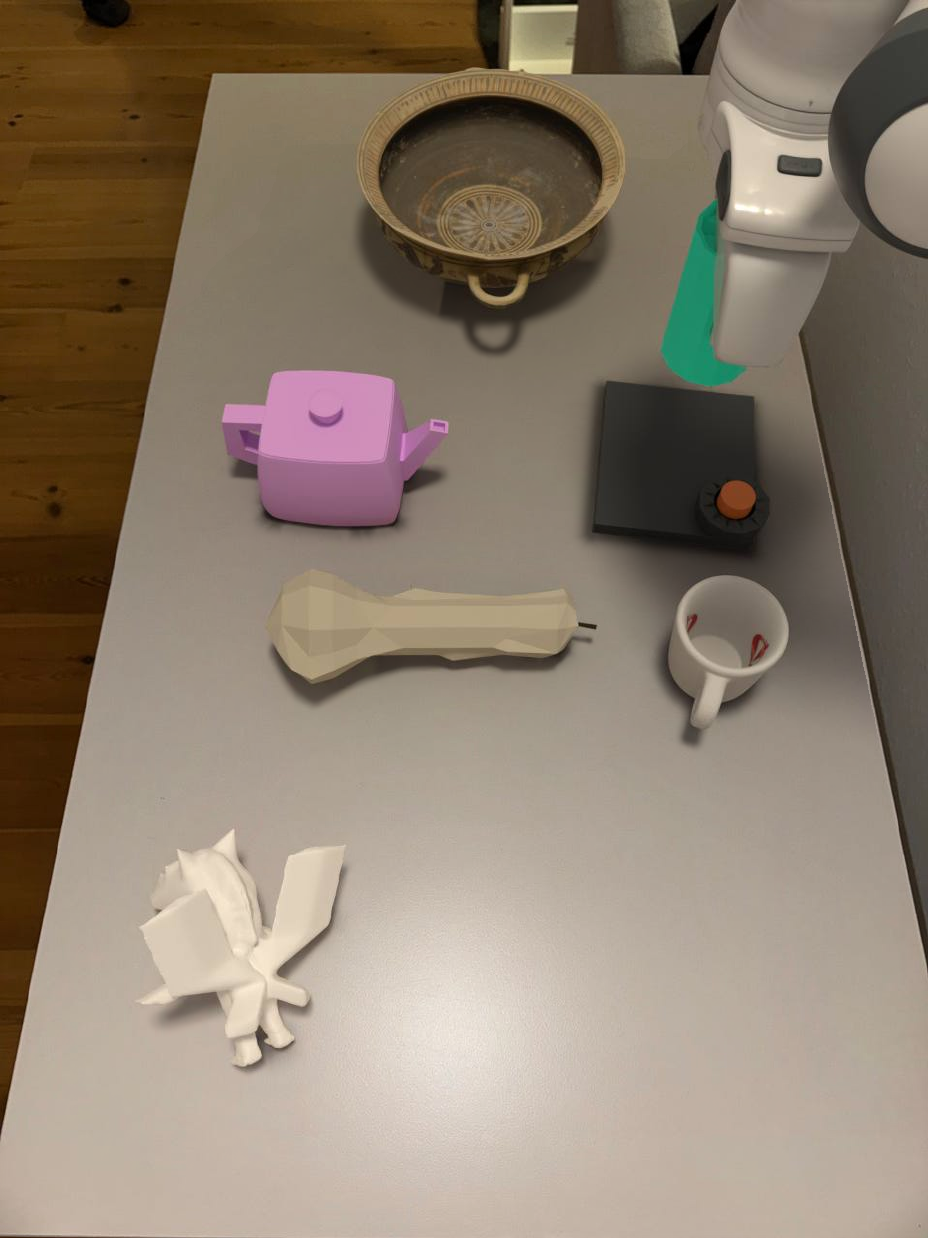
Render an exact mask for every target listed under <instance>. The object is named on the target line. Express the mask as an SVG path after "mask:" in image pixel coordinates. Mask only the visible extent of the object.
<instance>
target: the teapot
mask: <svg viewBox="0 0 928 1238" xmlns="http://www.w3.org/2000/svg"><path fill="white" fill-rule="evenodd" d="M449 424H450V423H449V421H446V420H441V419H435V418H430V419H429V421H427V422H425V423H422V424H421V425H418V426H417V427H415V428H413V429H412V430H410V431H408V425H407V419H406V413H405V408H404V405H403V401H402V398H401V395H400V393H399V390H398V387H397V385H396V383H395V381H394V380H393V379H392V378H389V377H387V376H381V375H375V374H369V373H360V372H351V371H350V372H349V371H339V370H337V371H336V370H309V369H308V370H306V369H305V370H304V369H303V370H284V371H276V372H274V373H273V374H272V375H271V379H270V382H269V387H268V391H267V394H266V401H265V405H262V404H261V405H259V404H235V403H233V404H232V403H225V406H224V410H223V414H222V419H221V426H222V427H221V428H222V433H223V437H224V442H225V443H224V444H225V448H226V453H227V456H230V457H233V458H236V459H239V460H242V461H243V462H247V463H250V464H253V465H254V466H257V480H258V490H259V497H260V500H261V503H262V506H263V508H264V510H266V511H267V513H268V514H270V515H271V516H272V517H274V518H276V519H280V520H283V521H284V520H285V521H289V522H295V523H301V524H310V525H316V526H317V525H318V526H328V527H329V526H330V527H375V526H386V525H390V524H393V523H394V522H395V521H396V519H397V516H398V514H399V511H400V507H401V503H402V496H403V491H404V485H405V481H409V479H410V478H411V477H412V476H413V475H414V474H415V473H416V471H418V470H419V468H420V467H421V466H422V465H423V464H424V462H425V461H426V460H427V459H428V458H429V457H430V456H431V455H432V453H433V452H434V451H435V450H436V449H437V448H438V447H439V445H441V443H442V442H443V441H444V440H445V439H446V438H447V437H448V435H449V426H450V425H449ZM253 432H254V433H253ZM255 432H257V433H260V434H257V433H255Z"/></svg>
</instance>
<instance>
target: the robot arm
mask: <svg viewBox="0 0 928 1238" xmlns="http://www.w3.org/2000/svg"><path fill="white" fill-rule="evenodd" d="M697 119H698V120H697V131H698V136H699V139H700V142H701V144H702V147H703V148H704V150H705V151H706V153H707V156H708V157H707V158H708V159H707V160H708V163H709V166H710V167H709V168H710V170H711V173H712V178H713V181H714V200H715V199H716V198H717V207H716V212H715V252H716V259H715V262H714V321H713V324H712V326H711V329H710V345H711V346H713V355H714V358H715V359H716V360H717V361H719V362H722V363H727V364H732V365H739V366H746V367H749V368H770V367H771V368H772V367H774V366H776V365H779V364H780V363H782V361H783V360H784V359H785V358H786V356H787V355H788V353H789V351H790V350H791V349H792V346H793V344H794V343H795V340H796V339H797V337H798V335H799V333H800V332H801V331H802V329H803V326H804V325H805V322H806V320H807V318H808V317H809V315H810V313H811V310H812V308H813V307H814V305H815V302H816V300H817V298H818V296H819V294H820V292H821V289H822V287H823V285H824V282H825V280H826V276H827V274H828V271H829V267H830V262H831V259H832V253H845V252H847V251H848V250H849V248H850V247H851V245H852V243H853V241H854V239H855V237H856V235H857V232H858V230H859V227H860V223H862V225H863V226H864V227H865V228H866V229H868V231H870V232H871V233H872V234H873V235H874V236H876V237H877V238H878V239H880V240H881V241H883V242H884V243H886V244H887V245H889V246H891V247H893V248H895V249H897V250H898V251H901V252H903V253H905V254H908V255H911V256H914V257H917V258H921V259H925V260H928V0H735V2H734V4H733V5H732V7H731V9H730V10H729V12H728V14H727V15H726V18H725V20H724V22H723V25H722V27H721V29H720V33H719V37H718V41H717V45H716V49H715V53H714V57H713V60H712V64H711V68H710V72H709V76H708V79H707V84H706V88H705V91H704V95H703V99H702V103H701V107H700V110H699V115H698V118H697Z"/></svg>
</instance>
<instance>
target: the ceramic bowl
mask: <svg viewBox="0 0 928 1238" xmlns="http://www.w3.org/2000/svg"><path fill="white" fill-rule="evenodd" d="M626 158H627V157H626V150H625V146H624V142H623V139H622V137H621V135H620V132H619V131H618V128H617V127H616V125H615V123H613V121H612V119H611V118H610V117H609V115H608V114H607V113H606V112H605V111H604V109H602V108H601V106H599V105H598V104H597V103H596V102H595V101H594V100H592V99H591V98H589V97H588V96H586V95H585V94H584V93H583V92H580V91H579V90H577V89H575V88H574V87H572V86H570V85H568V84H565V83H563V82H561V81H558V80H555V79H552V78H550V77H547V76H544V75H540V74H537V73H536V74H535V73H531V72H527V71H522V70H508V69H505V68H491V69H490V68H483V67H476V66H475V67H469V68H466V69H464V70H460V71H454V72H450V73H446V74H445V75H443V74H442V75H439V76H435V77H431V78H430V79H426V80H425V81H424V82H419V83H417V84H415V85H413V86H411V87H409V88H407V89H406V90H404V91H402V92H400V93H398V94H397V95H396V96H394V97H392V98H391V99H390V100H389V101H387V102H386V103H385V104H384V105H383V106H382V107H381V108H380V109H379V110H378V111H377V112H376V113H375V114H374V116H373V117H372V118H371V119H370V121H369V122H368V124H367V125H366V126H365V129H364V131H363V132H362V134H361V137H360V139H359V142H358V146H357V150H356V164H355V165H356V174H357V181H358V183H359V186H360V188H361V191H362V194H363V196H364V199H366V201H367V202H368V204H369V205H370V207H371V209H372V210H373V212H374V216H375V219H376V221H377V224H378V227H379V228H380V230H381V233H382V234H383V236H384V237H385V238H386V240H387V241H388V242H389V244H390V245H391V246H392V248H394V250H395V251H396V252H397V253H398V254H399V255H400V256H402V257H403V258H404V259H405V260H406V261H408V262H409V263H410V264H411V265H413V266H414V267H416V268H417V269H419V270H421V271H422V272H425V273H426V274H429V276H433V277H435V278H438V279H441V280H443V281H446V282H448V283H449V282H450V283H453V284H457V285H461V286H467V287H468V288H469V291H470V293H471V294H472V297H474V298H475V300H477V301H478V303H481V304H482V305H484V306H486V307H487V308H494V309H507V308H510V307H513V306H515V305H517V304H518V303H520V302H521V301H522V300H523V298H524V297H525V295H526V293H527V291H528V287H529V284H530V283H533V282H536V281H539V280H541V279H544V278H547V277H549V276H552V275H553V274H555V273H557V272H559V271H560V270H562V269H564V268H566V267H567V266H568V265H570V264H571V263H573V262H574V261H576V260H577V259H578V258H579V257H580V256H581V255H582V254H583V253H584V252H585V251H586V250H587V249H588V247H589V246H590V245H591V244H592V243H593V241H594V240H595V239H596V237H597V235H598V234H599V232H600V230H601V229H602V226H603V224H604V220H605V218H606V216H607V214H608V213H609V212H610V211H611V210H612V208H613V206H614V204H615V202H616V200H617V199H618V196H619V194H620V192H621V190H622V186H623V183H624V180H625V177H626V167H627V159H626ZM506 287H507V288H509V287H510V288H511V287H514V289H513V290H512V291H511V292H510V293H509V294H507V295H503V296H494V295H491V294H488V293H487V292H486V291H484V290H483V288H494V289H496V288H498V289H499V288H506Z"/></svg>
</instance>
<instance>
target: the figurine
mask: <svg viewBox="0 0 928 1238" xmlns="http://www.w3.org/2000/svg"><path fill="white" fill-rule="evenodd" d="M235 829H236V828H232V829H231V830H230V831H229V832H228V833H227V834H225V835H224V836H223V837H222V838H221V839H219V840H218V841H217V842H216V843H215V844H213V845H212V846H211V847H209V848H208V847H207V848H199V849H198V850H195V851H192V853H191V852H188V851H186V850H183V849H180V848H176V854H177V860H175V861H173V862H171V863H169V864H167V865H165V866H164V873H159V877H158V881H157V884H156V887H155V888H154V890H153V891H152V893H151V895H150V896H149V903H150V906H151V907H152V908H153V909H155V910H157V911H159V910H160V912H158V913H157V914H156V915H154V916H153V917H152V918H150V919H149V920H148V921H147V922H145V923H144V924H142V925H140V926H138V930H140V931H142V934H143V938H144V942H145V943H146V946H147V947H148V949H149V951H150V952H151V955H152V960H153V963H154V964H155V966H156V967H157V969H158V972H159V974H160V977H161V978H162V979H163V982H164V983H161V984H160V985H159V986H157V987H156V988H154V989H152V990H151V991H149V992H148V993H146V994H143V995H142V996H140V997H139V998H137V999H135V1000H134V1001H133V1003H135V1004H140V1005H142V1006H153V1005H155V1006H157V1005H158V1006H163V1005H168V1004H169V1003H170V1004H171V1003H172V1002H174V1001H176V1000H177V999H179V998H180V997H183V996H191V995H200V994H207V993H216V995H217V998H218V1000H219V1002H220V1006H221V1007H222V1010H223V1013H224V1015H225V1018H226V1021H225V1025H224V1034H225V1037H226V1038H227V1039H231V1040H232V1042H233V1044H234V1047H235V1049H236V1051H235V1054H234V1055H233V1056H231V1057H230V1058H229V1059H230V1060H229V1062H230V1064H231V1065H233V1066H238V1067H239V1068H240V1067H242V1068H245V1067H247V1066H248V1065H253V1064H256V1063H257V1062H258V1061H260V1060H261V1059H262V1055H263V1054H262V1051H261V1048H260V1046H259V1044H258V1039H257V1035H256V1032H257V1030H258V1029H259V1026H260V1028H261V1029H262V1030H263V1032H264V1033H265V1034H266V1035H267V1037H266V1038H265V1039H264V1040H263V1042H264V1043H265V1044H266V1045H268V1046H269V1045H270V1046H272V1047H273V1048H276V1049H282V1048H284V1047H286V1046H289V1044H291V1043H292V1042H293V1041H294V1040H295V1036H294V1034H292V1033H291V1032H290V1030H289V1029H287V1027H286V1025H285V1023H284V1021H283V1019H282V1018H281V1015H280V1012H279V1011H280V1010H279V1007H278V1000H279V1001H282V1002H285V1003H288V1004H291V1005H294V1006H297V1007H306V1005H307V1004H308V1002H309V1001H310V998H311V993H310V990H309V989H308V988H307V986H305V985H304V984H301V983H298V982H296V981H293V980H290V979H287V978H284V977H282V976H280V975H278V973H277V972H278V970H279V969H280V968H281V967H282V966H283V965H285V963H287V962H288V961H289V960H290V959H291V958H292V957H294V956H295V955H296V954H297V953H299V952H300V951H301V950H302V949H303V948H304V947H306V946H307V945H308V944H309V943H310V942H311V941H312V940H314V939H315V938H316V937H317V936H318V935H319V934H320V933H322V932H323V931H324V930H326V928H327V927H328V926H329V925H330V921H331V919H332V909H333V907H334V902H335V898H336V896H337V890H338V886H339V883H340V874H341V870H342V866H343V861H344V855H345V850H346V848H347V844H343V845H324V846H323V845H322V846H320V845H319V846H311V847H307V848H304V849H302V850H301V851H299V852H297V853H293V854H290V855H288V857H287V859H286V864H285V866H284V870H283V873H284V875H283V881H282V883H281V888H280V889H279V895H278V899H277V902H276V906H275V914H274V915H275V916H274V920H273V922H272V923H273V924H272V926H271V928H270V927H268V926H265V925H263V918H262V912H261V908H260V904H259V900H258V892H257V885H256V883H255V881H254V878H253V877H252V874H251V873H250V872H249V871H248V870H247V868H246V867H244V866H243V864H242V863H241V862H240V861H239V858H238V852H237V841H236V834H235V832H236V831H235Z"/></svg>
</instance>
